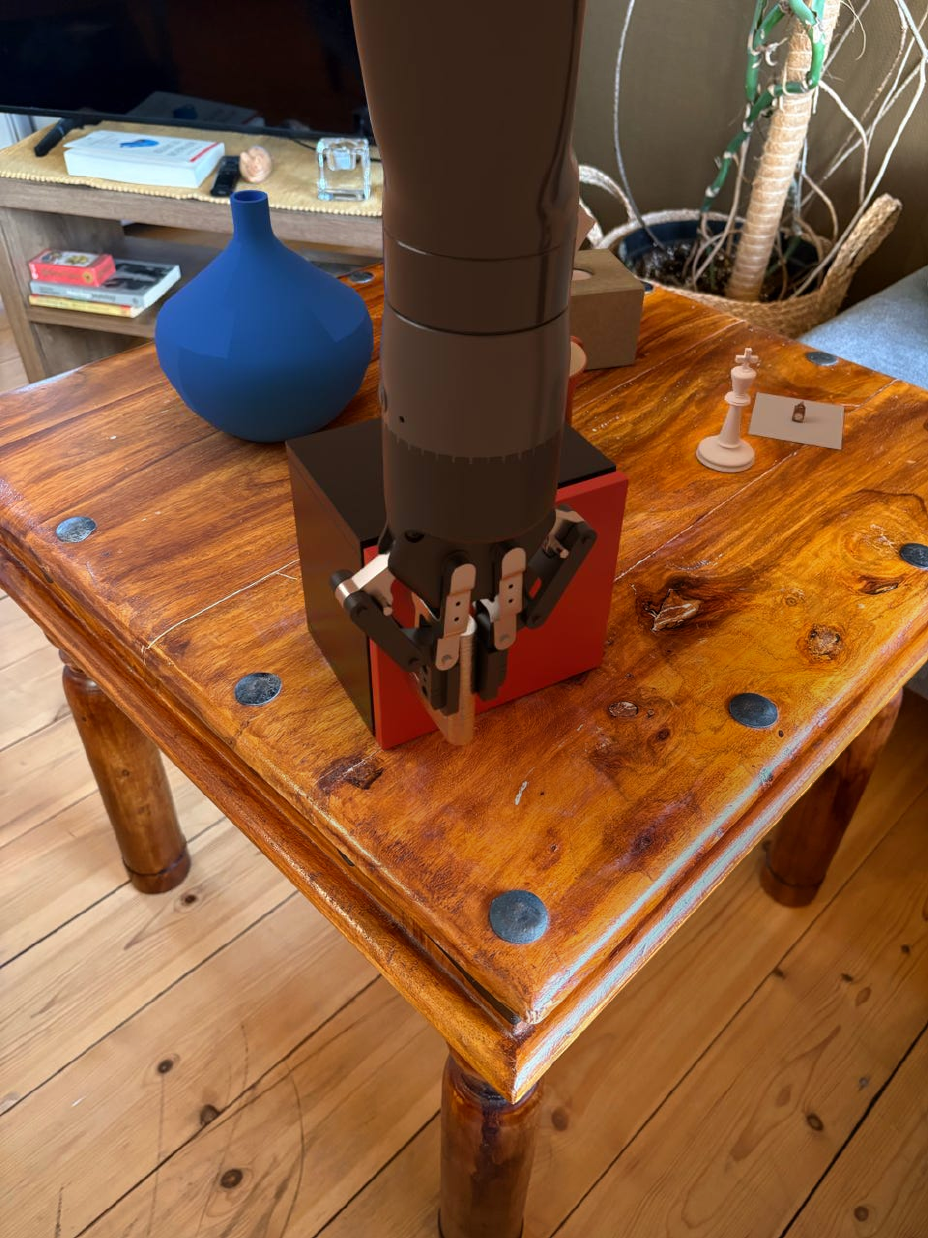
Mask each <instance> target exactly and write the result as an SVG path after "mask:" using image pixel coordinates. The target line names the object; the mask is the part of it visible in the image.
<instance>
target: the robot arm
mask: <svg viewBox="0 0 928 1238" xmlns="http://www.w3.org/2000/svg"><path fill="white" fill-rule="evenodd" d="M349 1H350V10H351V16H352V23H353V29H354V30H353V31H354V36H355V43H356V49H357V55H358V60H359V64H360V70H361V76H362V80H363V86H364V91H365V97H366V102H367V108H368V113H369V119H370V124H371V128H372V133H373V136H374V139H375V144H376V148H377V151H378V155H379V159H380V162H381V168H382V190H381V237H382V238H381V240H382V241H381V242H382V271H383V273H382V274H383V312H382V321H381V328H380V340H379V364H378V365H379V380H378V386H377V397H378V403H379V406H380V417H381V423H382V449H383V481H384V498H385V505H386V513H387V520H386V524H385V527H384V529H383V531H382V533H381V535H380V537H379V540H378V544H377V552H378V556H377V557H376V558H374V559H373V560H372V561H371V562H370V563H368V564H367V565H366V566H365V567H364V568H362V569H361V570H360V571H359V572H357V573H356V574H355V575H354V574H353V573H352V572H351V571H349V570H346V569H343V570H339V571H337V572H335V573H334V574H333V575H332V576H331V577H330V579H329V587H330V589H331V590H332V592H333V593H334V595H335V596H336V598H337V599H338V601H339V602H340V604H341V605H342V607H343V608H344V610H345V611H346V613H347V614H348V616H349V617H350V619H351V620H352V621H353V622H354V623H355V624H356V625H357V626H358V627H359V628H360V629H361V630H362V631H363V632H364V633H365V634H366V635H367V636H368V637H369V638H370V639H371V640H372V641H373V642H374V643H375V644H376V645H378V646H379V647H380V648H381V649H382V650H383V651H384V652H385V653H386V654H387V655H388V656H389V657H390V658H391V659H392V660H393V661H394V662H395V663H396V664H397V665H398V666H399V667H400V668H401V669H402V670H404V671H405V672H408V673H411V672H415V671H417V670H418V669H419V688H420V690H421V692H422V693H423V695H424V696H425V698H426V699H427V700H428V702H429V703H430V705H431V706H432V708H433V709H434V711H436V710H438V709H439V710H440V712H441V713H442V714H443V716H444V717H447V716H450V715H452V714H455V713H458V712H459V692H460V664H459V662H458V661H457V660H458V656H459V646H460V636H461V633H464V632H466V631H467V624H468V614H469V605H470V604H471V616H472V618H473V619H474V620H475V622H476V623H477V626H478V632H477V663H476V693H477V695H478V696H479V697H480V699H481V700H482V701H483V702H487V701H490V700H492V699H495V698H497V697H498V687H500V686H503V684H504V681H505V679H506V675H507V670H506V669H507V661H508V648H509V646H511V645H512V644H513V642H514V641H515V639H516V633H517V632H518V631H519V630H521V629H523V628H524V627H526V626H527V627H528V629H531V630H535V629H538V628H539V627H541V626H542V625H543V624H544V623H545V622H546V620H547V618H548V617H549V615H550V614H551V612H552V611H553V609H554V607H555V606H556V604H557V603H558V601H559V599H560V598H561V596H562V595H563V593H564V591H565V590H566V588H567V587H568V585H569V584H570V582H571V580H572V579H573V577H574V576H575V574H576V572H577V571H578V569H579V568H580V566H581V565H582V563H583V561H584V560H585V558H586V557H587V555H588V553H589V552H590V550H591V549H592V547H593V546H594V544H595V542H596V540H597V532H596V531H595V530H594V529H593V528H592V527H591V526H589V524H588V523H587V522H586V521H585V520H584V519H583V518H582V517H581V516H580V515H579V514H578V513H577V512H575V511H574V510H573V509H572V508H571V507H570V506H569V505H568V504H560V505H558V506H556V507H554V503H555V500H556V496H557V487H558V477H559V468H560V459H561V449H562V440H563V431H564V421H565V410H566V401H567V392H568V382H569V373H570V362H571V335H570V298H571V288H572V278H573V268H574V258H575V248H576V238H577V227H578V220H579V204H580V203H581V202H580V200H581V199H580V197H581V195H580V193H581V191H580V190H581V188H580V186H581V185H580V166H579V161H578V158H577V153H576V150H575V148H574V146H573V145H572V143H573V134H574V126H575V116H576V107H577V100H578V99H577V98H578V88H579V79H580V70H581V62H582V61H581V60H582V52H583V41H584V35H585V25H586V18H587V10H588V2H589V0H349ZM538 577H539V578H540V579H541V586H540V588H539V589H538V591H537V593H536V594H535V596H534V598H533V597H532V596H531V595H530V594H529V592H530V590H531V589H532V587H533V586H534V584H535V582H536V581H537V579H538ZM395 579H398V580H399V581H400V582H401V583H402V584H403V585H405V586H406V587H407V588H408V589H409V590H411V591H412V599H413V602H414V605H415V609H416V611H415V627H414V628H404V627H403V625H402V624H401V623H400V622H399V621H398V620H397V619H396V618H395V617H394V616H393V615H392V612H393V608H392V607H391V604H392V602H393V595H392V593H391V585H392V583H393V581H394V580H395Z"/></svg>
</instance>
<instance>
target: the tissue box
mask: <svg viewBox="0 0 928 1238" xmlns="http://www.w3.org/2000/svg"><path fill="white" fill-rule="evenodd" d="M597 221H598V220H597V219H596V218H595V217H592V216H591V215H589V214H588V213H587V211H586V210H585V208H583V206H582V205H581V204H580V203H579V220H578V227H577V238H576V248H575V258H574V268H573V278H572V288H571V298H570V335H573V336H576V337H578V338H580V339H581V340H582V342H583V347H584V352H585V354H586V356H587V365H586V368H585V370H584V372H585V371H592V370H593V371H594V370H601V369H609V368H617V367H625V366H626V367H627V366H633V365H634V364H635V363H636V359H637V358H636V357H637V350H638V345H639V335H640V330H641V329H640V328H641V322H642V316H643V315H642V314H643V308H644V300H645V293H646V286H645V285H644V284H643V283H642V282H641V281H640V280H639V279H638V278H637V277H636V276H635V275H634V273H632V272H631V271H630V270H629V269H628V267H626V266H625V265H624V263H622V262H621V261H620V259H618V258H617V257H616V256H615V254H614V253H612V251H611V250H610V249H608V248H607V247H605V248H593V249H584V250H579V249H580V248H581V246H582V244H583V242H584V241H585V239H586V238H587V236H588V235H589V233H590V232H591V231H592V230H593V228H594V227H595V225H596V223H597Z"/></svg>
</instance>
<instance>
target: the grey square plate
mask: <svg viewBox="0 0 928 1238" xmlns="http://www.w3.org/2000/svg"><path fill="white" fill-rule="evenodd" d="M844 413H845V406H844V405H837V404H833V403H826V402H820V401H813V400H806V399H801V398H795V397H789V396H783V395H775V394H769V393H764V392H758V391H756V395H755V399H754V405H753V410H752V414H751V419H750V423H749V427H748V428H749V429H748V433H747V435H752V436H758V437H764V438H770V439H775V440H781V441H788V442H793V443H798V444H804V445H811V446H816V447H823V448H827V449H828V448H829V449H833V450H840V451H842V444H843V443H842V442H843V431H844V430H843V428H844Z"/></svg>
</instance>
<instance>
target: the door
mask: <svg viewBox="0 0 928 1238" xmlns="http://www.w3.org/2000/svg"><path fill="white" fill-rule="evenodd" d="M629 484H630V478H629V477H628V476H627V475H626V474H624V473H623V471H621V470H616V472H613V473H609V474H606V475H603V476H599V477H596V478H593V479H590V480H586V481H583V482H580V483H577V484H573V485H570V486H567V487H564V488H560V489H557V496H556V500H555V503H554V507H556V506H558V505H560V504H568V505H569V506H570V507H571V508H572V509H573V510H574V511H575V512H577V513H578V514H579V515H580V516H581V517H582V518H583V519H584V520H585V521H586V522H587V523H588V524H589V526H591V527H592V528H593V529H594V530H595V531H596V532H597V540H596V542H595V544H594V546H593V547H592V549H591V550H590V552H589V553H588V555H587V557H586V558H585V560H584V561H583V563H582V565H581V566H580V568H579V569H578V571H577V572H576V574H575V576H574V577H573V579H572V580H571V582H570V584H569V585H568V587H567V588H566V590H565V591H564V593H563V595H562V596H561V598H560V599H559V601H558V603H557V604H556V606H555V607H554V609H553V611H552V612H551V614H550V615H549V617H548V618H547V620H546V622H545V623H544V624H543V625H542V626H541V627H539V628H538V629H535V630H531V629H528V627H527V626H526V627H524V628H523V629H521V630H519V631H518V632H517V633H516V639H515V641H514V642H513V644H512V645H511V646H509V648H508V661H507V669H506V670H507V675H506V679H505V681H504V684H503V686H500V687H498V697H497V698H495V699H492V700H490V701H487V702H483V701H482V700H481V699H480V697H479V696H478V695H477V693H476V663H477V632H478V626H477V623H476V622H475V620H474V619H473V618H472V616H471V604H470V605H469V614H468V624H467V631H466V632H464V633H461V636H460V646H459V656H458V660H457V661H458V662H459V664H460V692H459V712H458V713H455V714H452V715H450V716H447V717H444V716H443V714H442V713H441V712H440V710H439V709H438V710H436V711H434V709H433V708H432V706H431V705H430V703H429V702H428V700H427V699H426V698H425V696H424V695H423V693H422V692H421V690H420V688H419V669H418V670H417V671H415V672H411V673H408V672H405V671H404V670H402V669H401V668H400V667H399V666H398V665H397V664H396V663H395V662H394V661H393V660H392V659H391V658H390V657H389V656H388V655H387V654H386V653H385V652H384V651H383V650H382V649H381V648H380V647H379V646H378V645H376V644H375V643H374V642H373V641H372V640H371V639H370V638H369V639H370V654H371V669H372V684H373V700H374V715H375V730H376V736H375V740H376V742H377V744H378V745H379V747H380V748H381V750H382V751H385V750H388V749H391V748H393V747H395V746H398V745H401V744H404V743H406V742H410V741H411V740H414V739H416V738H419V737H421V736H424V735H427V734H429V733H431V732H433V731H437V730H439V731H440V732H441V733H442V735H443V736H444V738H445V739H446V741H447V742H448V743H450V744H452V745H454V746H465V745H468V744H470V743H471V742H472V741H473V739H474V737H475V723H476V720H475V719H476V715H478V714H479V713H482V712H485V711H488V710H490V709H492V708H495V707H498V706H500V705H503V704H505V703H508V702H510V701H513V700H515V699H518V698H520V697H523V696H525V695H528V694H531V693H534V692H536V691H538V690H539V691H540V690H541V689H543V688H546V687H550V686H551V685H554V684H557V683H559V682H561V681H564V680H566V679H569V678H572V677H575V676H577V675H580V674H582V673H584V672H587V671H589V670H592V669H595V668H597V667H600V666H602V664H603V658H604V650H605V644H606V638H607V637H606V636H607V629H608V624H609V616H610V611H611V605H612V604H611V603H612V599H613V598H612V597H613V592H614V591H613V590H614V585H615V584H614V583H615V577H616V570H617V564H618V558H619V557H618V556H619V550H620V543H621V538H622V530H623V524H624V516H625V511H626V510H625V509H626V503H627V498H628V491H629V490H628V489H629ZM377 556H378V552H377V545H375V546H372V547H369V548H365V549H364V562H365V566H366V565H367V564H368V563H370V562H371V561H372V560H373V559H374V558H376V557H377ZM540 586H541V579H540V578H539V577H538V579H537V581H536V582H535V584H534V586H533V587H532V589H531V590H530V592H529V594H530V595H531V596H532V597H533V598H534V596H535V594H536V593H537V591H538V589H539V588H540ZM391 593H392V595H393V602H392V604H391V607H392V608H393V612H392V615H393V616H394V617H395V618H396V619H397V620H398V621H399V622H400V623H401V624H402V625H403V627H404V628H414V627H415V611H416V609H415V605H414V602H413V599H412V591H411V590H409V589H408V588H407V587H406V586H405V585H403V584H402V583H401V582H400V581H399V580H398V579H395V580H394V581H393V583H392V585H391Z"/></svg>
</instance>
